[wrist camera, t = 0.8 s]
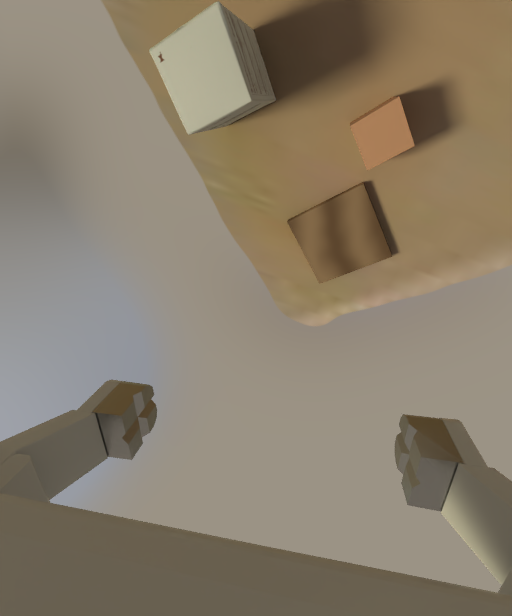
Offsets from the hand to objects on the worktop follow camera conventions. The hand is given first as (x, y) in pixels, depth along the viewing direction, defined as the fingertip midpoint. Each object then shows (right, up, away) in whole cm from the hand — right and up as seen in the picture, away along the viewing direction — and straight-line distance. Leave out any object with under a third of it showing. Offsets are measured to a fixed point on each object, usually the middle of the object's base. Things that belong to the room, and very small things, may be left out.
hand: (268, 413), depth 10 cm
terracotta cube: (+14, +24, +26) cm, 39 cm away
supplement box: (-2, +31, +27) cm, 41 cm away
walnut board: (+12, +14, +34) cm, 39 cm away
